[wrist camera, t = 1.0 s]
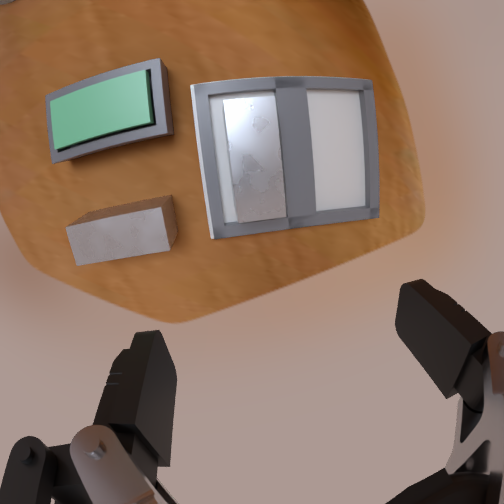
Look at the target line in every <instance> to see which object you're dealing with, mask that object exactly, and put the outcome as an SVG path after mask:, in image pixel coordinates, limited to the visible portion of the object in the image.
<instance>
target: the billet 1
mask: <svg viewBox="0 0 504 504" xmlns="http://www.w3.org/2000/svg"><path fill="white" fill-rule="evenodd" d="M66 231H67V235H68V238H69V242H70V245H71V248H72V252H73V255H74V258H75V261H76V264H77V266H79V265H85V264H90V263H96V262H102V261H108V260H114V259H120V258H126V257H132V256H139V255H145V254H151V253H157V252H163V251H170V250H171V247H172V245H173V242H174V240H175V238H176V235H177V233H178V227H177V222H176V217H175V211H174V206H173V201H172V195H168V196H163V197H157V198H152V199H147V200H142V201H137V202H132V203H127V204H123V205H118V206H113V207H109V208H104V209H100V210H96V211H91V212H88V213H87V214H85V215H84V216H82V217H80V218H79V219H77V220H76V221H74V222H73V223H71V224H70V225H68V226H67V227H66Z"/></svg>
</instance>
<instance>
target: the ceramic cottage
mask: <svg viewBox="0 0 504 504" xmlns="http://www.w3.org/2000/svg"><path fill="white" fill-rule="evenodd" d="M12 1H14V0H0V4H7V3H10V2H12Z"/></svg>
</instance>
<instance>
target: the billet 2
mask: <svg viewBox="0 0 504 504" xmlns="http://www.w3.org/2000/svg"><path fill="white" fill-rule="evenodd" d="M222 112H223V120H224V129H225V137H226V146H227V154H228V162H229V170H230V178H231V186H232V194H233V202H234V209H235V212H236V216H237V220H238V223H243V222H251V221H258V220H266V219H273V218H281V217H286V205H285V193H284V181H283V170H282V159H281V148H280V138H279V128H278V119H277V110H276V101H275V96H266V97H252V98H241V99H231V100H223V107H222Z"/></svg>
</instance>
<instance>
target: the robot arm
mask: <svg viewBox="0 0 504 504" xmlns="http://www.w3.org/2000/svg"><path fill="white" fill-rule="evenodd" d="M395 326H396V331H397V334H398V336H399V337H400V338H401V340H402V341H403V342H404V343H405V345H406V346H407V347H408V348H409V350H410V351H411V352H412V354H413V355H414V356H415V358H416V359H417V360H418V362H419V363H420V364H421V365H422V367H423V368H424V369H425V371H426V372H427V373H428V374H429V376H430V377H431V379H432V380H433V381H434V383H435V384H436V385H437V387H438V388H439V390H440V391H441V392H442V394H443V395H444V396H445V398H446V399H447V398H449V397H451V396H453V395H455V394H457V393H459V394H460V395H461V397H460V399H459V401H458V410H457V423H456V431H455V440H454V447H453V451H452V454H451V456H450V458H449V460H448V462H447V464H446V467H445V468H443V469H441V470H440V471H438V472H436V473H434V474H433V475H431V476H429V477H427V478H425V479H424V480H421V481H420V482H417V483H415V484H413V485H411V486H409V487H408V488H406V489H405V490H404V491H402V492H401V493H400V494H398V495H397V496H396V497H395V498H393V499H392V500H390V501H389V502H387V503H386V504H504V332H495V333H493V334H492V333H491V332H489V331H488V330H487V329H486V328H485V327H484V326H483V325H482V324H481V323H480V322H478V320H476V319H475V318H474V317H473V316H472V315H471V314H470V313H468V312H467V311H465V309H464V308H463V307H461V305H459V304H457V302H456V301H455V300H454V299H452V298H451V297H450V296H449V295H447V294H445V293H443V292H441V291H439V290H436V289H435V288H433V287H432V286H431V285H430V284H429V283H427V282H426V281H425V280H423V279H419V280H415V281H412V282H408V283H404V284H403V285H402V286H401V288H400V294H399V300H398V308H397V313H396V319H395ZM176 386H177V375H176V369H175V366H174V363H173V361H172V359H171V356H170V354H169V351H168V349H167V346H166V343H165V341H164V338H163V336H162V334H161V332H160V331H159V330H155V331H145V332H137V333H135V335H134V338H133V340H132V343H131V347H130V349H123V350H122V352H121V353H120V354H119V355H118V356H117V358H116V359H115V360H114V362H113V364H112V367H111V370H110V375H109V376H108V379H107V382H106V386H105V387H104V390H103V394H102V397H101V400H100V403H99V406H98V409H97V412H96V416H95V419H94V423H93V425H91V426H87V427H85V428H83V429H82V430H80V431H79V432H78V433H77V434H76V435H75V436H74V438H73V439H72V442H71V443H70V444H65V445H59V446H53V447H47V446H46V445H45V444H44V443H43V442H42V441H41V440H40V439H38V438H36V437H33V436H27V437H24V438H22V439H20V440H19V441H18V442H16V443H15V445H14V446H13V448H12V450H11V453H10V456H9V459H8V462H7V466H6V469H5V473H4V476H3V480H2V484H1V488H0V504H50V503H51V498H53V499H54V500H55V504H179V503H178V502H177V501H176V500H175V499H174V498H173V497H172V495H171V494H170V493H169V492H168V490H167V489H166V488H165V487H164V486H163V484H162V483H161V482H160V481H159V479H158V478H157V467H158V466H160V467H170V458H171V443H172V429H173V417H174V405H175V395H176Z"/></svg>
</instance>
